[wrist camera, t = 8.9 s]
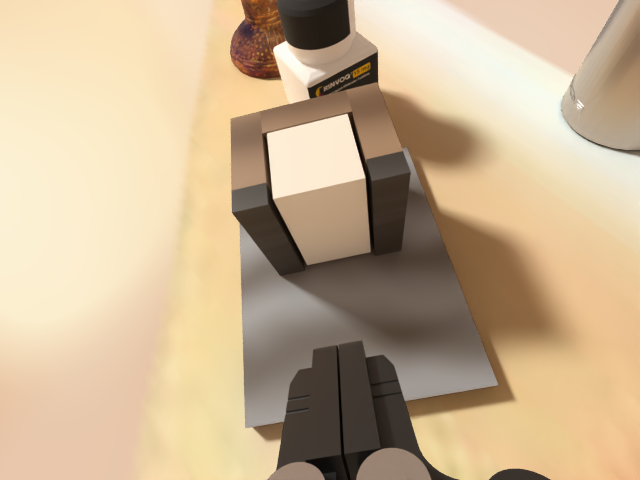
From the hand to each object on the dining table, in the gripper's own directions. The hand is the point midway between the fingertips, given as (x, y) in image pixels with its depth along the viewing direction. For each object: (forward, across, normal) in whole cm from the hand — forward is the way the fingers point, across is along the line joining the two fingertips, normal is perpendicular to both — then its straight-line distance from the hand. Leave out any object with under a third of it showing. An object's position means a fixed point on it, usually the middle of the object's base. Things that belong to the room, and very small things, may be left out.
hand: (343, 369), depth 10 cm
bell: (+39, +3, -19) cm, 44 cm away
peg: (+17, 0, 0) cm, 17 cm away
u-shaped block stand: (+16, 0, +3) cm, 16 cm away
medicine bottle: (+29, -2, -9) cm, 31 cm away
